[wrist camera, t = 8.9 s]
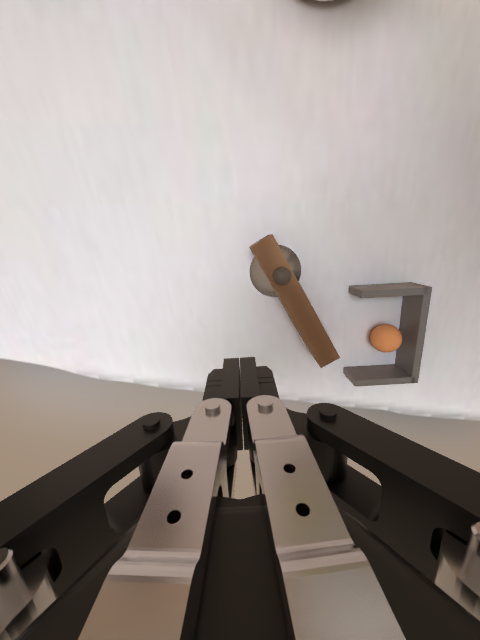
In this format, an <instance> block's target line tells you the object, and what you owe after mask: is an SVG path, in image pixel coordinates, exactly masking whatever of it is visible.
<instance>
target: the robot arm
mask: <svg viewBox="0 0 480 640" xmlns="http://www.w3.org/2000/svg"><path fill="white" fill-rule="evenodd" d="M240 379H241V381H240ZM242 421H243V435H244V449H245V450H248V449H249V451H250V467H251V474H252V481H253V488H254V494H255V496H252V497H248V498H245V499H233V498H234V487H235V477H236V459H237V450H243V439H242V438H243V437H242ZM347 457H348V458H350V459H352V460H353V461H355V462H356V463H358V464H359V465H361V466H363V467H365V468H366V469H368V470H369V471H371V472H372V473H373V474H374V475H375V476H376V477H377V478H378V479H379V481H380V483H381V486H380V485H378V484H377V483H375V482H374V481H372V480H370V479H369V478H368V477H366V476H364V475H363V474H361V473H360V472H358V471H357V470H355V469H353V468H352V467H350V466H348V465H347ZM138 466H139V471H140V477H138V478H137V479H135V480H134V481H133V482H132V483H130V484H129V485H128V486H127V487H125V488H124V489H123V490H121V491H120V492H119V493H118V494H116V495H115V496H114V497H112V498H111V499H110V500H109V501H107V502H106V503H105V504H104V497H105V495H106V493H107V491H108V490H109V489H110V488H111V487H112V486H113V485H114V484H115V483H116V482H118V481H119V480H120V479H122V478H123V477H125V476H126V475H127V474H129V473H130V472H131V471H132V470H134V469H135V468H136V467H138ZM0 640H480V473H479V472H477V471H475V470H472V469H470V468H468V467H466V466H464V465H462V464H460V463H458V462H455V461H454V460H451V459H449V458H447V457H445V456H443V455H441V454H439V453H436V452H435V451H432V450H430V449H428V448H426V447H424V446H422V445H420V444H418V443H415V442H413V441H411V440H409V439H407V438H405V437H403V436H401V435H399V434H397V433H394V432H392V431H390V430H388V429H386V428H384V427H382V426H380V425H377V424H375V423H373V422H371V421H369V420H367V419H365V418H363V417H361V416H358V415H356V414H354V413H352V412H350V411H348V410H346V409H344V408H341V407H339V406H337V405H334V404H330V403H319V404H315V405H312V406H311V407H310V408H309V409H308V411H307V414H305V413H299V412H294V411H291V410H289V409H287V408H285V405H284V403H283V402H282V400H280V399H279V396H278V392H277V388H276V384H275V381H274V378H273V373H272V371H271V370H270V369H269V368H268V367H267V366H260V367H256V362H255V357H246V358H240V366H239V358H230V359H224V364H223V369H214V370H213V371H212V372H211V373H210V374H209V375H208V378H207V383H206V387H205V392H204V396H203V401H202V402H200V403H199V404H198V405H197V406H196V407H195V409H194V411H193V414H192V416H191V417H188V418H186V419H183V420H179V421H175V422H173V421H172V417H171V416H170V415H169V414H167V413H162V412H157V413H151V414H147V415H145V416H143V417H141V418H139V419H137V420H136V421H134V422H132V423H131V424H129V425H127V426H126V427H124V428H122V429H121V430H119V431H117V432H116V433H114V434H113V435H111V436H109V437H107V438H106V439H104V440H102V441H101V442H99V443H97V444H96V445H94V446H92V447H91V448H89V449H88V450H86V451H84V452H82V453H81V454H79V455H77V456H76V457H74V458H73V459H71V460H69V461H67V462H66V463H64V464H62V465H61V466H59V467H58V468H56V469H54V470H52V471H51V472H49V473H47V474H46V475H44V476H42V477H41V478H39V479H37V480H36V481H34V482H33V483H31V484H29V485H27V486H26V487H24V488H22V489H21V490H19V491H17V492H16V493H14V494H13V495H11V496H9V497H7V498H6V499H4V500H2V501H1V502H0Z"/></svg>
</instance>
